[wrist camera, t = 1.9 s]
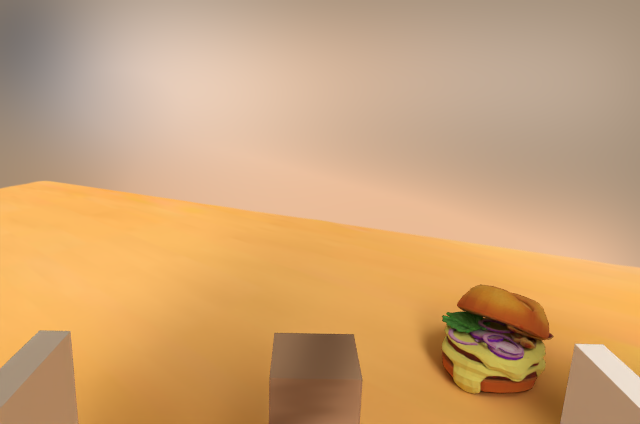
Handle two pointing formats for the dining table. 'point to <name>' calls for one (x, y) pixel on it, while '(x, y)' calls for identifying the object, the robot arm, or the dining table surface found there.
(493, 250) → the dining table surface
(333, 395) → the walnut post
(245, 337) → the dining table surface
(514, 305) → the cheeseburger
